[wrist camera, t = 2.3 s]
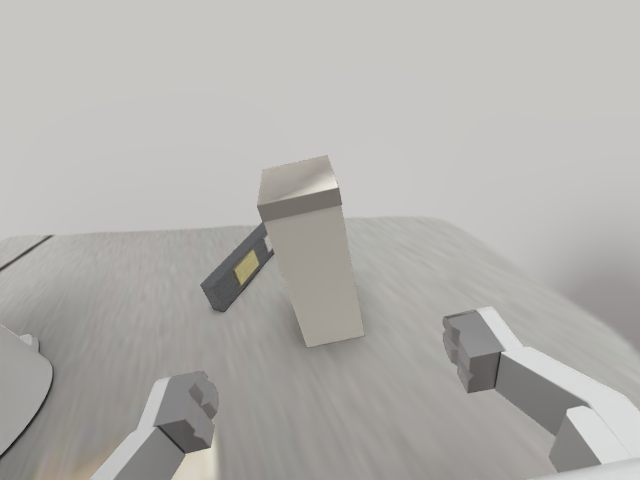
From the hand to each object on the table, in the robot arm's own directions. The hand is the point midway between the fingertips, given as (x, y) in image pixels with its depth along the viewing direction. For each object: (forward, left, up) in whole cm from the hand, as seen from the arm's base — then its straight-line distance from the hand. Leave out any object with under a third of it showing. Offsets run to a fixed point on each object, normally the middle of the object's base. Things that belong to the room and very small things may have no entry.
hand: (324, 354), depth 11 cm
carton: (0, +14, -13) cm, 19 cm away
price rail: (-8, +24, -13) cm, 28 cm away
